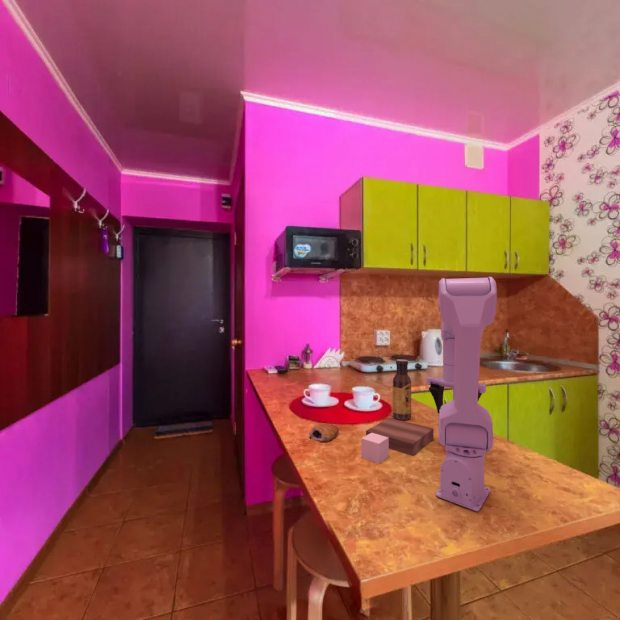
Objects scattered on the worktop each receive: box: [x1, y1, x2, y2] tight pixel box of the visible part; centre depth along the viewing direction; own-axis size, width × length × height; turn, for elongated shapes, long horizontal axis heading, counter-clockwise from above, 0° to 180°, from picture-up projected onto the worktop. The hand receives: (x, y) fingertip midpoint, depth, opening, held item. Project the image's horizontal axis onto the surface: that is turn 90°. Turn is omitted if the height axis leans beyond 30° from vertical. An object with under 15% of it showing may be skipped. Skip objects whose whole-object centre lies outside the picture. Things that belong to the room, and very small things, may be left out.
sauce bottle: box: [392, 358, 412, 421], centre depth 112 cm, size 6×6×20 cm
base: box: [365, 417, 434, 456], centre depth 93 cm, size 14×14×3 cm
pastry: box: [309, 423, 340, 443], centre depth 97 cm, size 9×7×4 cm
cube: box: [360, 433, 390, 465], centre depth 83 cm, size 5×5×5 cm
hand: (454, 415), depth 86 cm, fingers open, 7 cm apart
